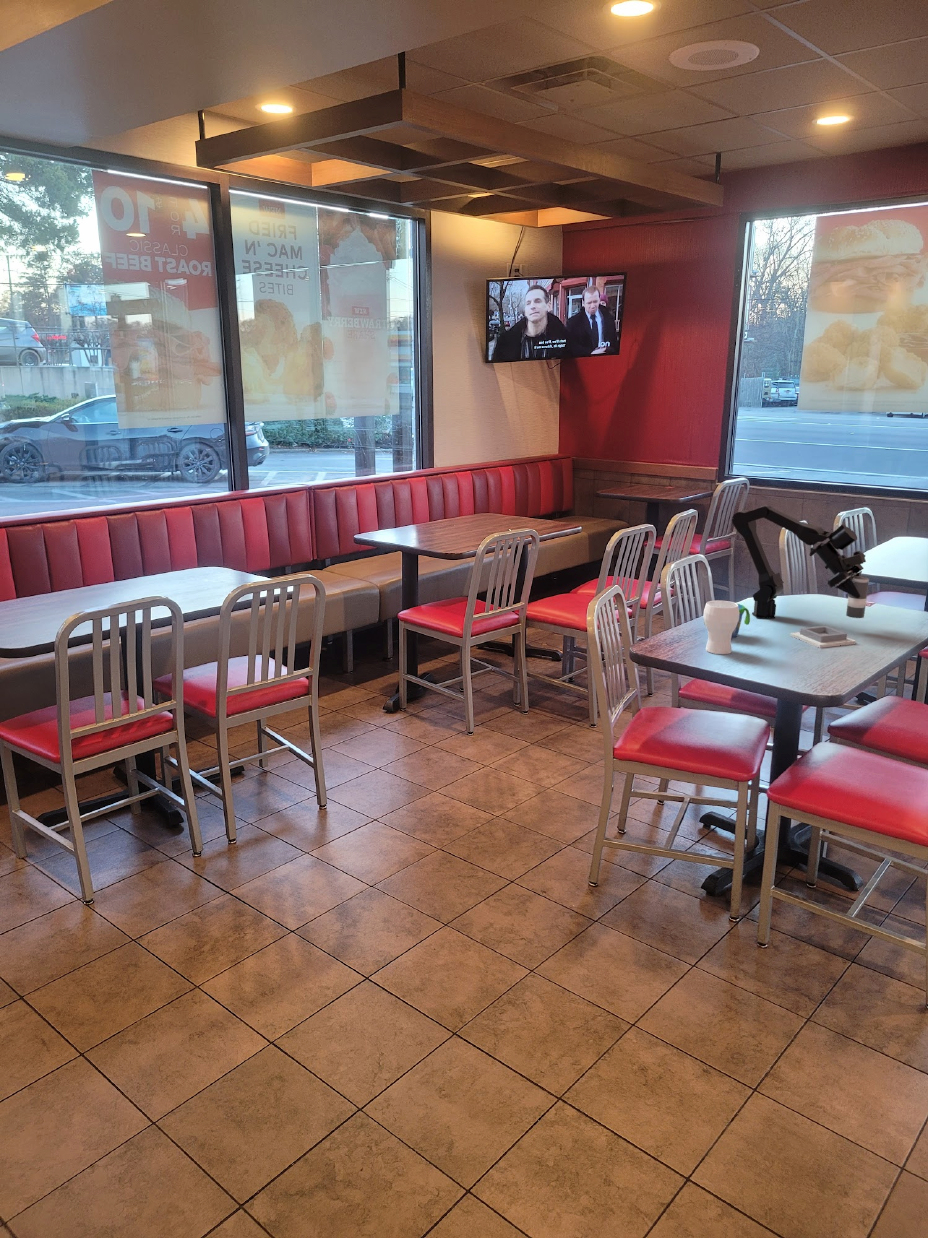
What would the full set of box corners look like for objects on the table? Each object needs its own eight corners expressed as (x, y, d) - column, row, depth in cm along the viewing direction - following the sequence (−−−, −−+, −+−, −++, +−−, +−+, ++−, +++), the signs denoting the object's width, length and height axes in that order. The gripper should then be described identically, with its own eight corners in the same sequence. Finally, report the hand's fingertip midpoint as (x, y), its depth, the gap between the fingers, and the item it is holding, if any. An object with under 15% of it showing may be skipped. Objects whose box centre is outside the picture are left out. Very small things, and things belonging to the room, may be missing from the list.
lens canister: (850, 618, 296) (855, 579, 292) (843, 613, 301) (847, 575, 298) (867, 618, 296) (872, 579, 292) (859, 613, 301) (864, 576, 298)
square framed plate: (790, 636, 295) (791, 627, 295) (825, 632, 300) (826, 623, 299) (819, 648, 283) (820, 638, 282) (855, 643, 287) (856, 634, 286)
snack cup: (741, 630, 302) (743, 600, 300) (755, 639, 292) (758, 608, 290) (697, 631, 300) (699, 602, 298) (709, 640, 290) (711, 610, 288)
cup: (712, 657, 274) (715, 609, 270) (694, 647, 283) (697, 601, 279) (742, 654, 276) (747, 607, 272) (724, 644, 286) (728, 598, 282)
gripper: (842, 547, 288) (873, 586, 284) (860, 539, 301) (891, 576, 298) (814, 568, 295) (845, 606, 291) (834, 559, 308) (863, 596, 305)
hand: (862, 595), depth 296 cm, fingers closed on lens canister, 5 cm apart
